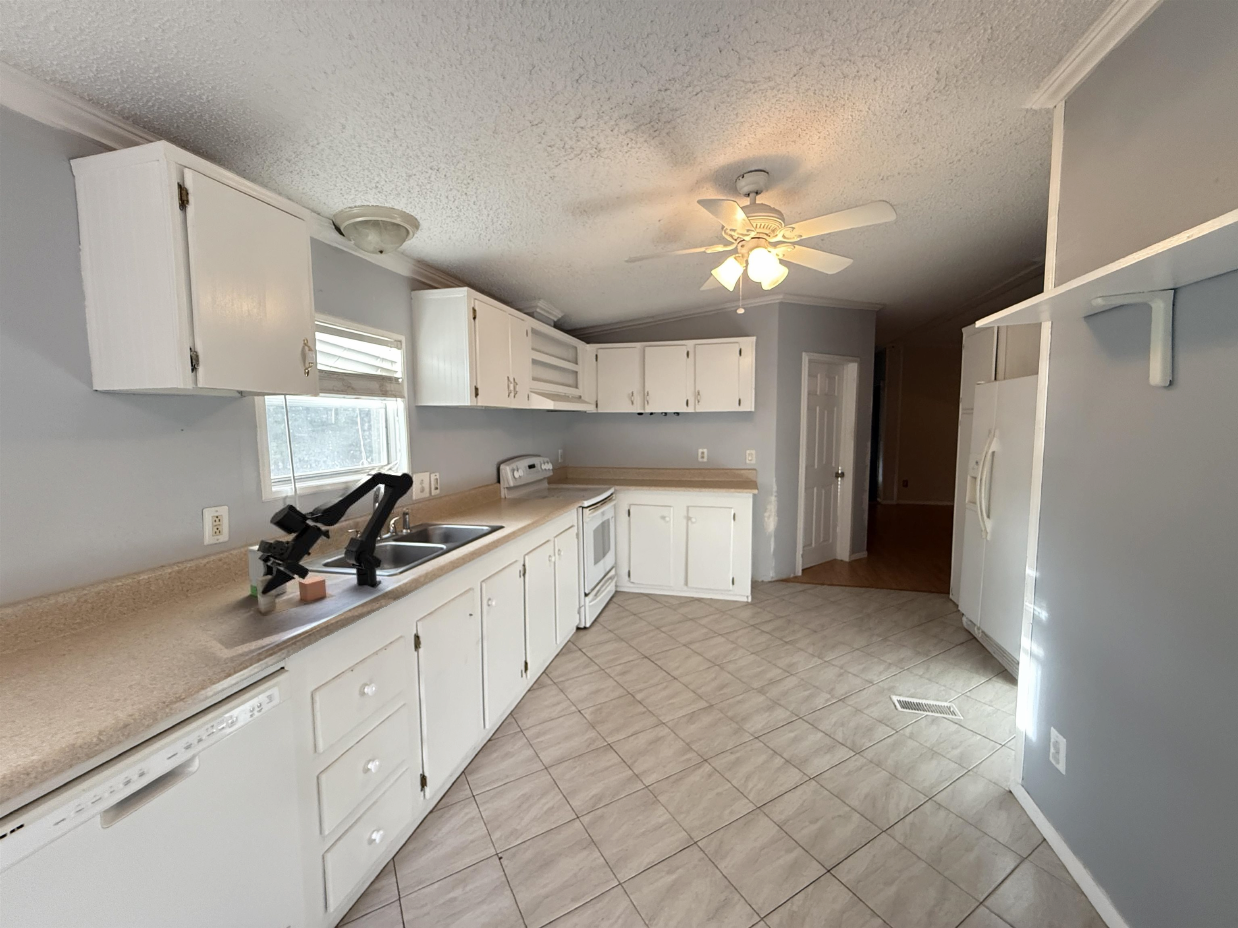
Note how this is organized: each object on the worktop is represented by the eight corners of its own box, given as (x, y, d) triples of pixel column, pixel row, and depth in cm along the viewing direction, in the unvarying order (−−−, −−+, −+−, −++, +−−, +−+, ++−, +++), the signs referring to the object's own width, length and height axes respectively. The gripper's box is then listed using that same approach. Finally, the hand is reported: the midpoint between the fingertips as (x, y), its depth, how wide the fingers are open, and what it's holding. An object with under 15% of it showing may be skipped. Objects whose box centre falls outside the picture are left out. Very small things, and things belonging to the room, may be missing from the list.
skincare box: (250, 598, 146) (245, 547, 145) (274, 591, 152) (270, 542, 151) (265, 602, 142) (260, 550, 141) (289, 595, 148) (285, 545, 147)
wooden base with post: (321, 593, 148) (318, 561, 147) (335, 599, 143) (332, 565, 142) (250, 613, 133) (247, 577, 133) (264, 620, 128) (260, 582, 127)
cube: (318, 592, 146) (317, 576, 145) (326, 595, 143) (325, 579, 142) (299, 597, 142) (298, 581, 141) (307, 601, 139) (306, 583, 138)
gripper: (263, 524, 140) (219, 572, 132) (292, 531, 129) (246, 584, 121) (296, 545, 147) (256, 592, 139) (326, 553, 136) (284, 604, 128)
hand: (260, 592), depth 131 cm, fingers closed on wooden base with post, 3 cm apart
